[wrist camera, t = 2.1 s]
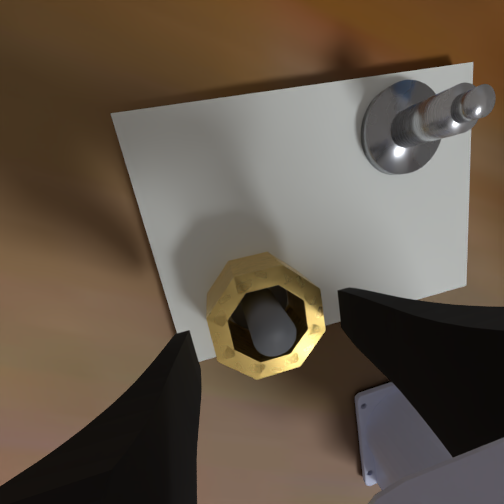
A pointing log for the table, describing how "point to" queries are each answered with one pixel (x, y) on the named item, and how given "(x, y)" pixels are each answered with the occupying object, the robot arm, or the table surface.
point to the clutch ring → (238, 338)
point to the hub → (418, 122)
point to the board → (293, 201)
